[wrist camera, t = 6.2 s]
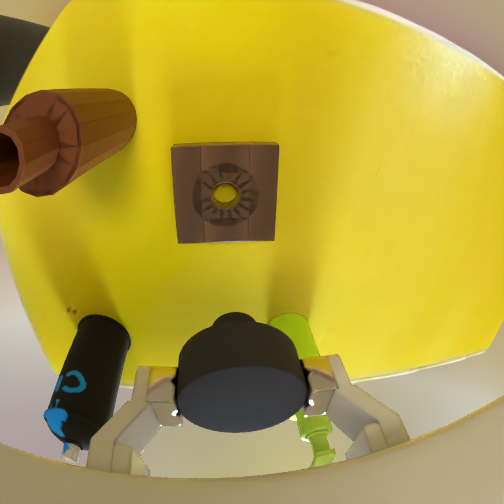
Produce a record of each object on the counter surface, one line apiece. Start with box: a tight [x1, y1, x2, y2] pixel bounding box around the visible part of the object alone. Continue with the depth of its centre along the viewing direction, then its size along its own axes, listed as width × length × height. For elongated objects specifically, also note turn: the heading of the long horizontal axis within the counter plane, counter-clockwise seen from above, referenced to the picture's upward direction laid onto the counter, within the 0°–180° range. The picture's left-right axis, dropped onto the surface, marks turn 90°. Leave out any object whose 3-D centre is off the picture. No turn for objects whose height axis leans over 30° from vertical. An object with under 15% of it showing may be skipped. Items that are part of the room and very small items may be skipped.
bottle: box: [0, 89, 136, 197], centre depth 18 cm, size 7×7×17 cm
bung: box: [176, 312, 308, 433], centre depth 11 cm, size 5×5×4 cm
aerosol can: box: [44, 315, 131, 464], centre depth 30 cm, size 8×8×20 cm
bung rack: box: [171, 142, 279, 244], centre depth 30 cm, size 10×10×2 cm
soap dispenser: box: [268, 313, 336, 468], centre depth 32 cm, size 6×7×20 cm
